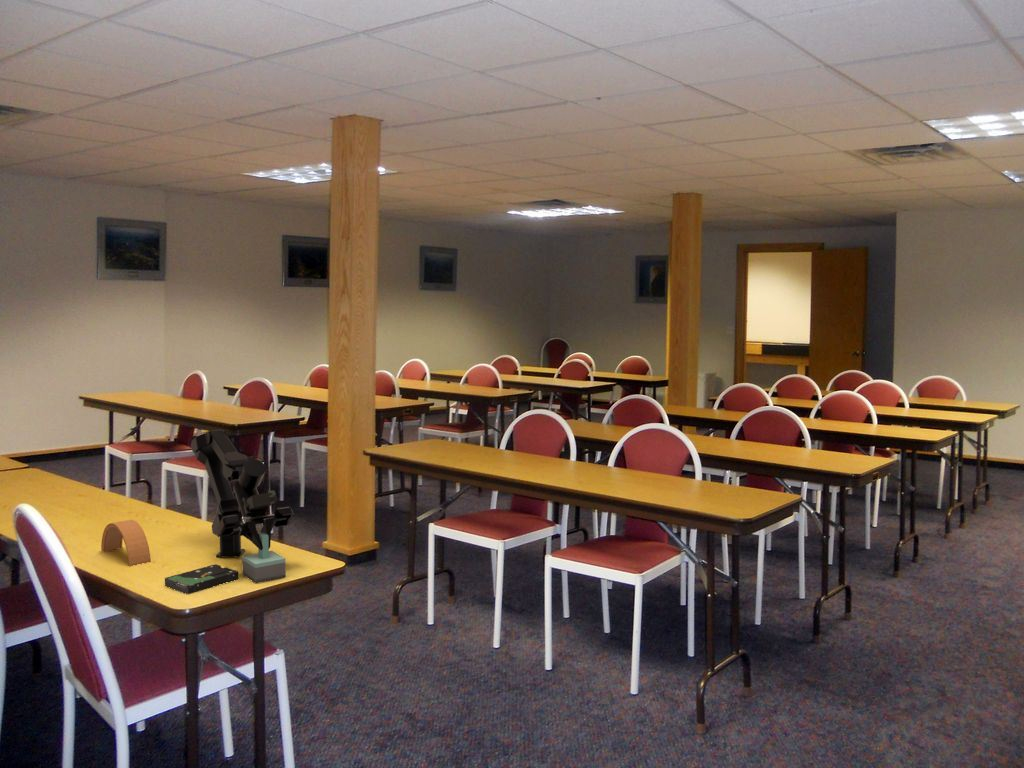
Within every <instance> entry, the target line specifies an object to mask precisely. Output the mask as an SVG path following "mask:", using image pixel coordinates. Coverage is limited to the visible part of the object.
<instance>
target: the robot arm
mask: <svg viewBox="0 0 1024 768" xmlns="http://www.w3.org/2000/svg"><path fill="white" fill-rule="evenodd" d="M190 446H191V447H190V448H191V451H192V453H193V454H194V456H195V458H196V460H197V461H198V462H200V463H201V464H203V465H204V467H205V470H206V473H207V476H208V479H209V481H210V485H211V488H212V491H213V493H214V494H213V495H214V497H215V499H216V502H217V509H216V511H215V515H214V520H213V522H212V524H211V532H212V534H213V535H214V536H216V537H218V538H219V552H218V553H217V554H215V557H216V558H238V557H242V554H243V553H244V552H245V551H246V549H245V548H242V541H241V540H242V537H244V538H246V539H247V540H249V541H250V542H251V543H252V544H253V545H255V547H256V548H257V549H258V548H259V549H260V550H262V549H263V546H262V542H261V540H260V537H259V535H258V534H259V533H258V530H257V525H261V529H260V533H265V534H267V535H268V539H269V549H270V548H271V543H272V542H271V540H272V539H271V537H272V530H274V527H275V528H282V527H287V526H289V524H290V523H291V520H292V518H293V516H294V511H293V509H292V508H291V506H284V507H277V508H275V511H274V513H271V514H267V513H268V512H269V510H270V509H269V507H270V506H271V507H272V504H275V503H277V501H278V498H277V493H276V490H274V489H273V490H268V491H266V492H265V493H261V494H260V493H259V491H258V487H259V486H260V485H261V482H262V480H263V477H264V476H265V473H266V471H267V466H266V465H265V463H263V462H262V461H261V460H259V459H257V458H255V456H254V455H251V456H247V455H246V454H243V453H241V452H239V451H238V450H237V448H236V447H235V445H233V443H232V441H231V440H230V438H228V435H227V432H226V430H224V429H221V428H220V429H212V430H208V431H206V432H204V433H202V434H200V435H196V436H195V437H194V438H193V439H192V440H191V443H190ZM234 481H235V482H234ZM230 482H234V484H233V486H232V487H231V483H230ZM232 489H233V490H232Z"/></svg>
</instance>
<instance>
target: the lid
mask: <svg viewBox="0 0 1024 768" xmlns="http://www.w3.org/2000/svg"><path fill="white" fill-rule="evenodd" d="M258 535H259V537H260V540H261V542H262V546H263V549H262V550H260V549H259V548H258V547H257V549H258V551H257V552H256V553H251V554H245V555H241V557H242V559H241V560H244V561H245V562H247V563H248V564H250V565H251V566H253V567H255V568H258V567H263V566H269V565H274V564H279V563H285V562H286V557H284V556H282V555H280V553H279V554H278V553H277V552H276V551H273V550H270V548H269V539H268V535H267V534H265V533H261V532H260V533H258Z"/></svg>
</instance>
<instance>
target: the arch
mask: <svg viewBox="0 0 1024 768" xmlns="http://www.w3.org/2000/svg"><path fill="white" fill-rule="evenodd" d="M123 541H124V545H125V549H126V554H127V559H128V566H129V567H134V566H133V565H135V566H138V565H137V564H140V565H143V564H142V563H144V564H148V563H147V562H149V563H151V562H152V561H151V553H150V548H149V547H150V546H149V543H148V539H147V536H146V533H145V531H144V530H143V528H142V525H141V524H139V522H138V521H137V520H134V519H127V520H122V521H116V522H110V523H108V524H107V525H106V526H105V528H104V530H103V533H102V536H101V544H100V547H101V549H100V551H107V552H109V551H108V550H112V549H117V550H119V549H118V548H122V549H123ZM112 551H113V550H112Z"/></svg>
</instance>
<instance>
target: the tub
mask: <svg viewBox="0 0 1024 768" xmlns="http://www.w3.org/2000/svg"><path fill="white" fill-rule="evenodd" d="M241 560H242V559H241ZM286 570H287V566H286V562H285V563H279V564H274V565H269V566H263V567H258V568H255V567H253V566H251V565H250V564H248V563H247V562H245V561H244V560H242V575H243V576H244V577H245V578H247V579H248V578H249V579H248V580H250V581H251V580H252V581H251V582H253V583H254V582H255V584H260V582H261V583H265V581H266V582H271V581H275V579H276V580H280V579H285V577H286V578H287V573H286V572H287V571H286ZM270 580H271V581H270Z"/></svg>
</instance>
